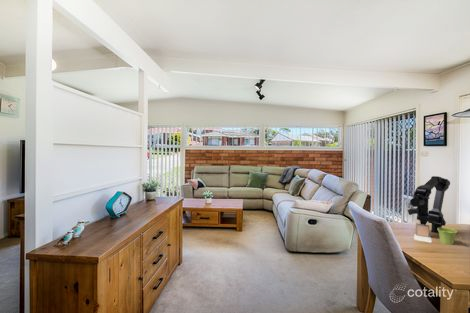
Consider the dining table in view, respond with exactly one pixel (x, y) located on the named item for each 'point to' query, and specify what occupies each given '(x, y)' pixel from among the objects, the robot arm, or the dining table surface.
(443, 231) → the plant pot
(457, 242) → the dining table surface
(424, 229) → the slate tile
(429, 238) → the white rectangular board
